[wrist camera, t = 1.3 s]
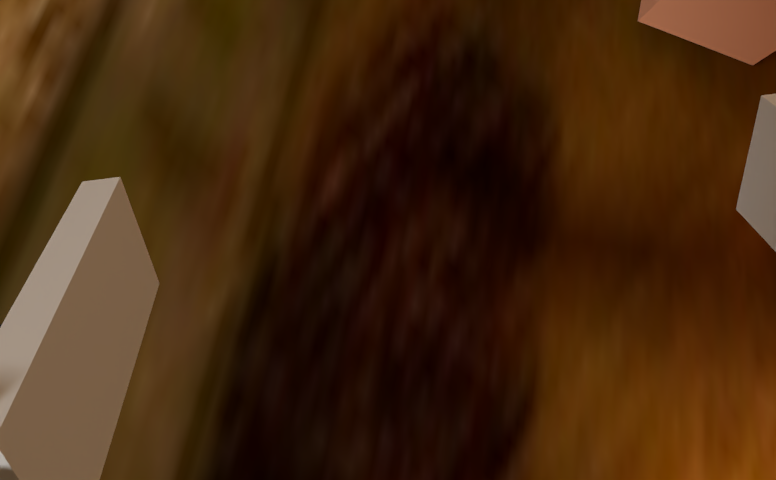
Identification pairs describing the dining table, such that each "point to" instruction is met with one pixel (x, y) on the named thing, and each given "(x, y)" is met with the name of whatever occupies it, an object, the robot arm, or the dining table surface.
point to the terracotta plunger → (718, 24)
